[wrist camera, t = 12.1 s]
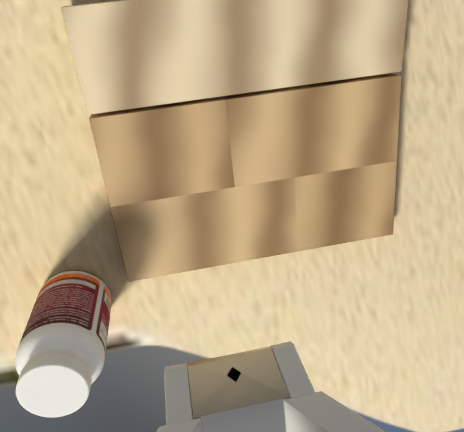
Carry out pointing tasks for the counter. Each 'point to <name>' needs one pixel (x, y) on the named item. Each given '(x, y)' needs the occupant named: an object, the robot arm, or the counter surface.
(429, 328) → the counter surface
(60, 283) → the pill bottle
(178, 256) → the laid floor
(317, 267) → the counter surface
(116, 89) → the plank
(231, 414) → the robot arm
